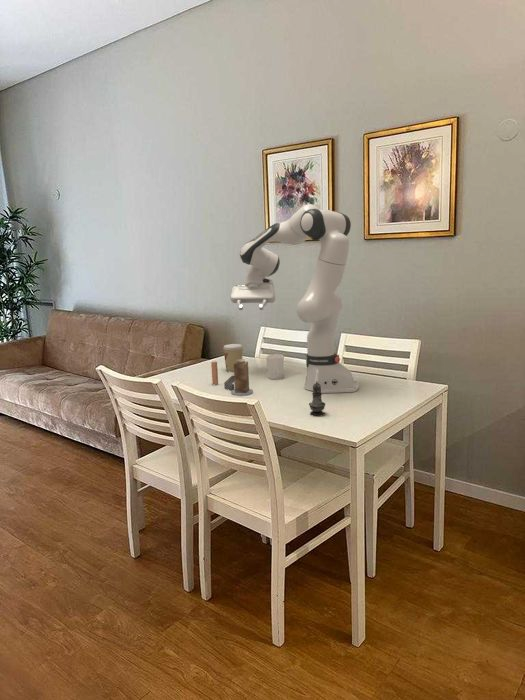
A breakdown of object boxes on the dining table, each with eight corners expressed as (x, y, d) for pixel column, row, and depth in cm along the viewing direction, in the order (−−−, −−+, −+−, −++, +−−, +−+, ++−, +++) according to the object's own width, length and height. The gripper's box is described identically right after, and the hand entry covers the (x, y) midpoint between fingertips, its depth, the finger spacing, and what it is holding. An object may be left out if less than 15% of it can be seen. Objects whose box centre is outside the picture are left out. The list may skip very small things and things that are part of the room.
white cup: (282, 380, 232) (282, 358, 230) (265, 379, 233) (264, 358, 231) (285, 375, 239) (285, 354, 237) (268, 375, 241) (268, 354, 239)
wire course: (249, 381, 232) (248, 359, 230) (241, 390, 217) (240, 367, 215) (217, 380, 235) (215, 359, 233) (206, 390, 220) (205, 367, 218)
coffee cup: (225, 367, 258) (224, 344, 256) (244, 367, 258) (243, 343, 255) (223, 372, 249) (222, 347, 247) (243, 372, 249) (241, 347, 246)
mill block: (249, 389, 216) (247, 358, 214) (246, 393, 212) (244, 361, 209) (238, 389, 217) (236, 358, 215) (235, 392, 213) (233, 361, 210)
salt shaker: (306, 414, 184) (305, 382, 182) (313, 410, 189) (313, 378, 187) (320, 417, 181) (320, 384, 179) (328, 412, 186) (328, 379, 184)
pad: (255, 389, 218) (255, 388, 218) (250, 396, 209) (250, 394, 209) (234, 389, 220) (234, 387, 220) (228, 395, 211) (228, 394, 211)
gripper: (231, 280, 238) (226, 304, 231) (275, 280, 234) (272, 304, 227) (234, 289, 243) (229, 313, 236) (277, 289, 239) (274, 313, 232)
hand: (250, 309), depth 231 cm, fingers open, 8 cm apart
